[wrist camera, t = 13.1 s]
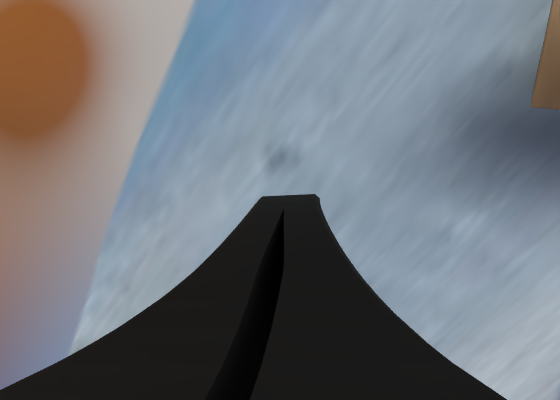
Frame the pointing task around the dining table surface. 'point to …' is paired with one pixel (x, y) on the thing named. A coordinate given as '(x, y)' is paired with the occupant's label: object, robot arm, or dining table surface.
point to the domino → (549, 64)
